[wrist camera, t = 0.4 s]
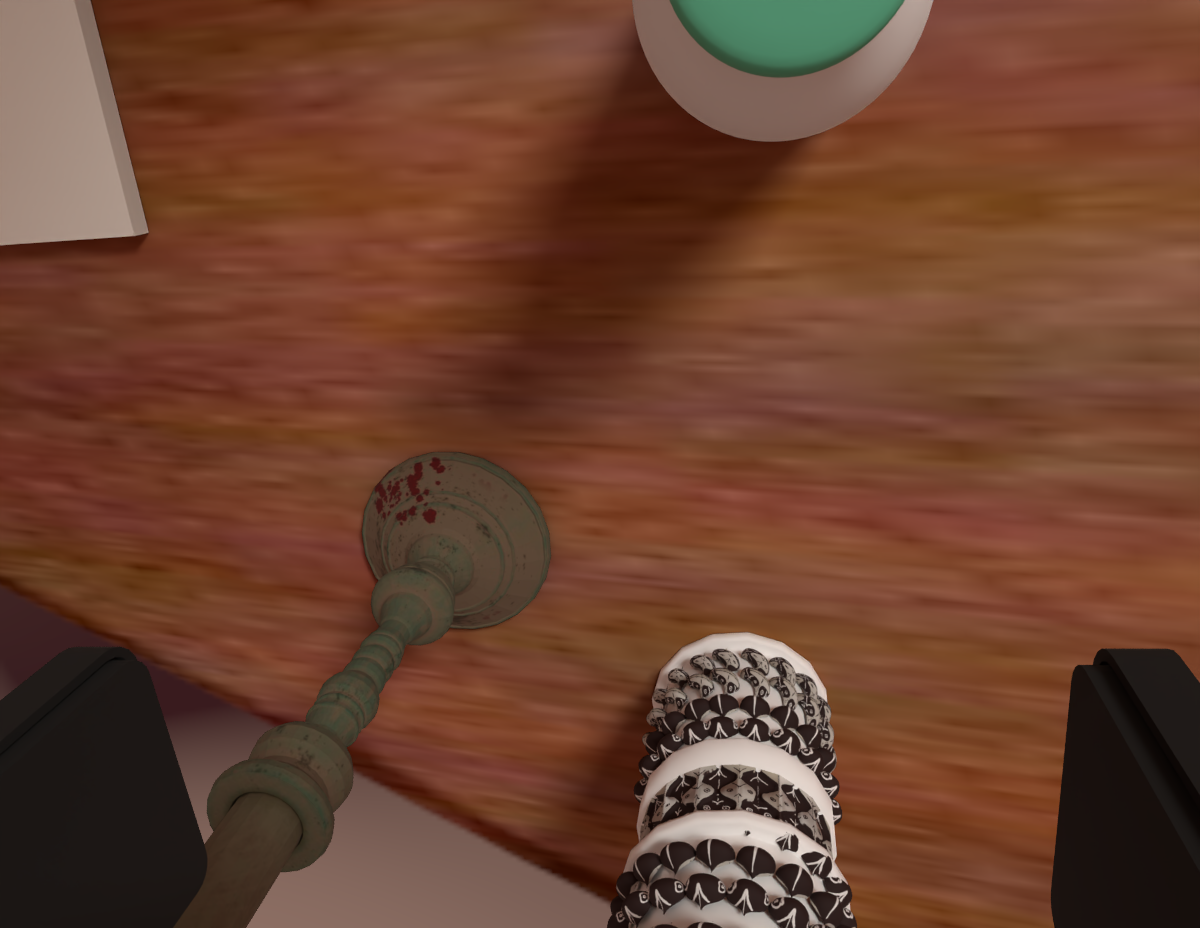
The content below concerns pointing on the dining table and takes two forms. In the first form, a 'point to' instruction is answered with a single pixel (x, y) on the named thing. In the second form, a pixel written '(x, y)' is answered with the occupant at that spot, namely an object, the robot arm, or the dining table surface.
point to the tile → (60, 130)
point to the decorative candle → (736, 795)
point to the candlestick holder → (372, 665)
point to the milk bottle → (777, 59)
